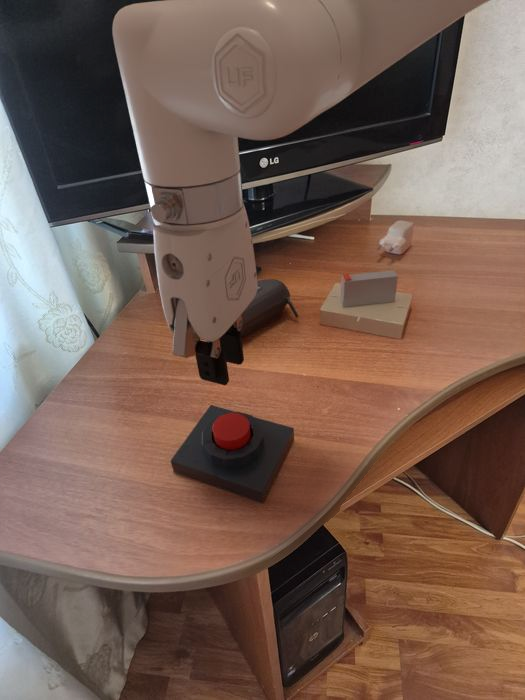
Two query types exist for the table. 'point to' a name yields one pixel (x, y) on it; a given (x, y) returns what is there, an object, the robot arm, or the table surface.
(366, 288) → the grey red-tipped bar
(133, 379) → the table surface
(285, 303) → the glasses case
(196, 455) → the switch block
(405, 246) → the power adapter
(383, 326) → the base
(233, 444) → the button
